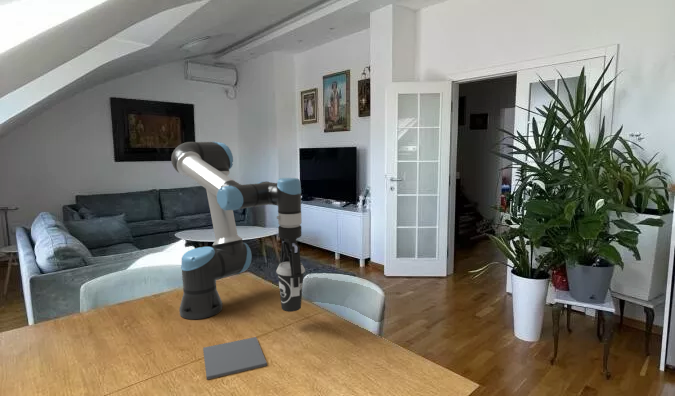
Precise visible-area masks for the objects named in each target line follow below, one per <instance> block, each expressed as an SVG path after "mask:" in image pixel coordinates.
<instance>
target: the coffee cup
mask: <svg viewBox="0 0 675 396" xmlns="http://www.w3.org/2000/svg"><path fill="white" fill-rule="evenodd" d="M275 272H276V274H277V279H278V286H279V287H278V288H279V295H280V305H281V306H280V307H281V310H282V311H284V312H288V313H290V312H291V313H292V312H296V311H299V310H300V309H301V308H302V299H303V298H302V296H303V295H302V294H303V285H304V284H303V282H304V273H305V272H306V268H305V267H304V266H303V263H302V262H301V274H302V277H299V288H300V296H294V297H291V278H290V276H292V275H291V268H290V261H288V262H283V263H281V262H280V263H279V264H278V267H277V268H276V271H275ZM296 274H297V273H296Z"/></svg>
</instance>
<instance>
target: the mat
mask: <svg viewBox="0 0 675 396" xmlns="http://www.w3.org/2000/svg"><path fill="white" fill-rule="evenodd" d="M202 351H203V359H204V368H205V375H206V380H207V381H208V380H211V379H215V378H220V377H224V376H225V377H226V376H228V375H233V374H237V373H242V372H245V371H249V370H254V369H259V368H263V367H266V366H268V363H267V361H266V357H265V355H264V353H263V351H262V348H261V345H260V343H259V341H258V338H257V336H255V337H249V338H248V337H247V338H245V339H239V340H234V341H229V342H224V343H221V344H215V345H214V344H213V345H211V346H209V345H208V346H204V347H203V348H202Z"/></svg>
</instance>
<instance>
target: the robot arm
mask: <svg viewBox="0 0 675 396" xmlns="http://www.w3.org/2000/svg"><path fill="white" fill-rule="evenodd" d="M233 162H234V156H233V153H232V150H231V149H230V147H229V146H228V145H226V143H224V142H218V141H186V142H184V143H183V142H182V143H181V144H179V145H177V147H175V149H173V152H172V153H171V164H172V167H173V169H174V170H175V171H176V172H177V173H179V174H180V175H181V176H183V177H185V178H186V177H188V178H190V179H192V180H193V181H195V182H196V183H197V184H199V186H201V187H203V188H204V189H205V190H206V194H207V201H208V207H209V210H210V211H209V212H210V215H211V222H212V226H213V232H214V233H213V234H214V238H215V240H214V242H212V243H213V244H212V246H202V247H195V248H193V249H191V250H188V251H186V252H185V253H184V254H183V255H182V257H181V265H180V266H181V267H180V269H181V275H182V276H181V277H182V287H183V295H182V298H181V302H180V306H179V316H180V317H181V318H183V319H187V320H202V319H207V318H210V317H213V316H215V315H217V314H218V313H220V312H222V310H223V300H222V299H221V297H220V293H219V291H218V289H217V281H218V280H221V279H224V278H228V277H231V276H233V275H239V274H241V273H243V272H245V271H247V270H248V269H249V267H250V266H251V263H252V259H253V258H252V256H253V255H252V251H251V248H250V247H249V244H247V243H246V242H244V241H243V238H242V237H241V236H239V235H238V230H237V225H236V221H235V220H236V219H235V215H234V211H237V210H241V209H248V208H253V207H262V206H270V205H271V206H276V207H277V212H278V213H277V214H278V215H277V216H276V219H277V220H278V225H279V226H278V232H277V233H278V238H280V239H281V249H280V250H281V251H280V263H283V262H288V261H290V268H291V275H292V276H290V278H291V297H294V296H300V288H299V277H302V274H301V263H302V262H301V252H300V250H301V246H300V245H298V244H299V243H298V242H297V239H299V238H301V237H302V225H301V224H302V187H301V186H302V184H301V180H300V179H299V178H298V177H297V178H296V177H280V178H278V179H277V182H269V181H258V182H257V183H249V184H241V183H239V182H237V181H235V180H234V179H232V178H231V177H230V176H229V175H230V170H231V168H232V167H233V164H234V163H233ZM296 273H297V274H296Z"/></svg>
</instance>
